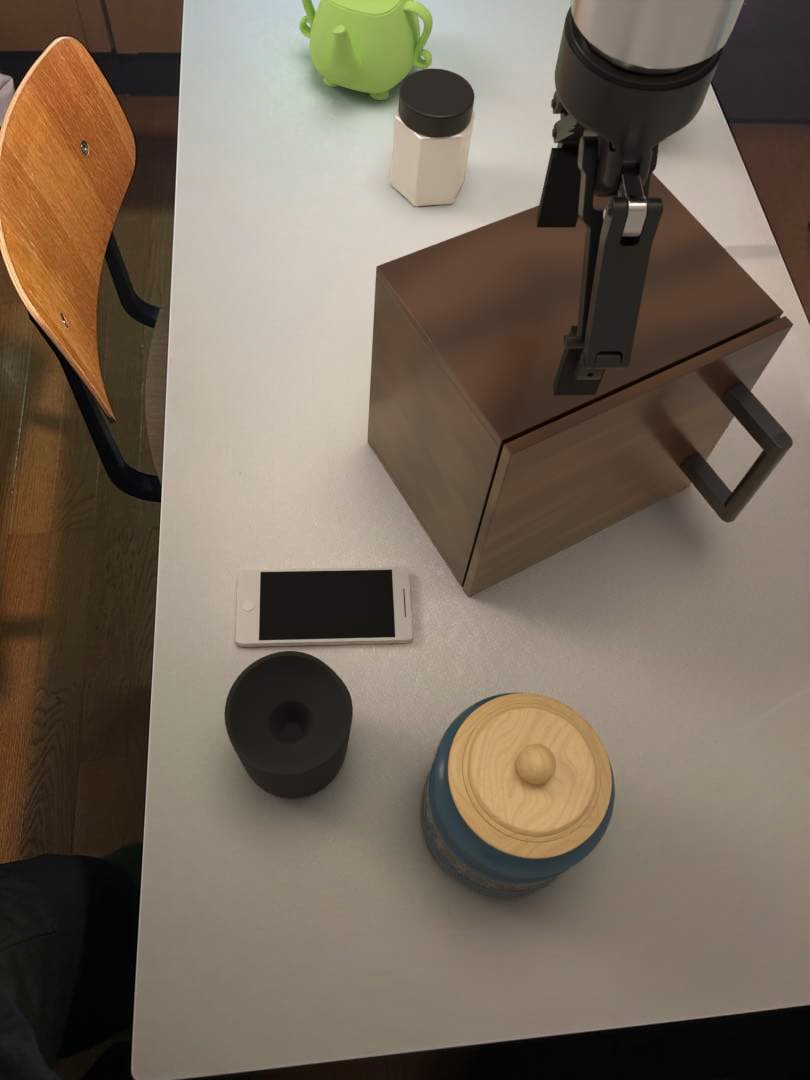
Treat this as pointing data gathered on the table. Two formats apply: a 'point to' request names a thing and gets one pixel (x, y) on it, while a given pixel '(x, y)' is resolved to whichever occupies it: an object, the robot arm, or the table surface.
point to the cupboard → (522, 349)
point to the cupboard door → (628, 457)
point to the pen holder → (289, 723)
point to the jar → (432, 136)
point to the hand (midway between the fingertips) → (564, 303)
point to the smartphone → (323, 607)
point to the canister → (516, 794)
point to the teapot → (367, 42)
